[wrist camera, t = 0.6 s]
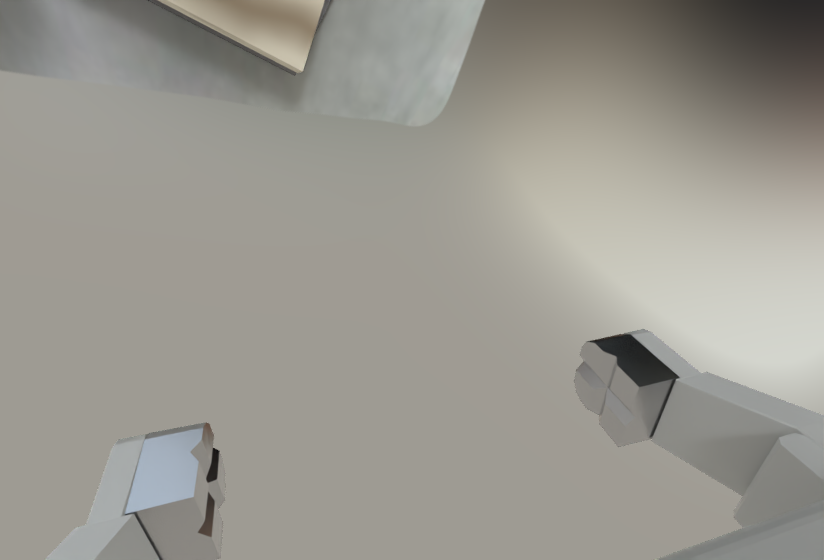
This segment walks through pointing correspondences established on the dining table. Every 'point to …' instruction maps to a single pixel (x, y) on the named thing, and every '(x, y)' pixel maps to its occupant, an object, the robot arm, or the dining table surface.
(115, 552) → the robot arm
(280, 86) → the dining table surface
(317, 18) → the ash plank
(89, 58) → the dining table surface
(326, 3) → the board
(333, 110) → the dining table surface
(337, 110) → the dining table surface
